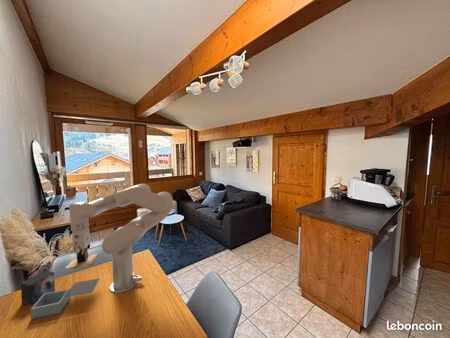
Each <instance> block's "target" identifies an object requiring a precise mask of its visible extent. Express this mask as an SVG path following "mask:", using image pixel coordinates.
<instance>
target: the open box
mask: <svg viewBox="0 0 450 338" xmlns="http://www.w3.org/2000/svg"><path fill="white" fill-rule="evenodd" d="M69 300H71V297H70V288H66V289H62V290H61V289H60V290H55V291H54V292H49V293H44V294H43V295H42V297H41V298H40V299H39V300H38V301H37V302H36V303H34V304H33V305H32V307H31V308H30V320H31V321H32V320H36V319H40V318H41V319H42V318H45V317H51V316H55V315H60V314H61V312H62V311H63V310H64V308H65V306H66V305H67V304H68V302H69Z"/></svg>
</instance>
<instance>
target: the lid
mask: <svg viewBox="0 0 450 338" xmlns="http://www.w3.org/2000/svg"><path fill="white" fill-rule="evenodd" d="M87 250H88V249H85V250H84V254H85V261H84V262H80V263H77V256H75V257H74V258H73V259H71V261H70V262H69V263H68V264H67V265H66V266H65V268H64V271H70V270H75V269H79V268H86V267H91V266H93V264H94V263H95V261H96V259H97V258H98V256H99V253H93V254H87ZM79 251H81V250H79Z"/></svg>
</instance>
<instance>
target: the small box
mask: <svg viewBox="0 0 450 338" xmlns="http://www.w3.org/2000/svg"><path fill="white" fill-rule="evenodd" d="M55 287H56V285H55V272H53V271H47V270H44V271H41V272H39V273H38V274H36V275H34V276H32V277H30V278H28V279H25V280H23V281H21V283H20V290H21V291H20V292H21V294H20V295H21V297H20V298H21V304H20V305H23V306H24V305H25V306H34V305H35V303H36V302H37V301H38V300H39V299H40V298H41V297H42V295H43V294H44V293H49V292H55V291H56V290H55V289H56V288H55Z"/></svg>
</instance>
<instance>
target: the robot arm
mask: <svg viewBox="0 0 450 338" xmlns="http://www.w3.org/2000/svg"><path fill="white" fill-rule="evenodd" d="M173 201H174V200H173V196H172V194H171V193H170V192H168V191H161V192H158V193H155V192H152V189H151V187H150V186H149V185H148V184H147V183H139V184H136V185H132V186H129V187H128V188H125V189H120V190H118V191H115V192H114V193H112V194H110V195H107V196H104V197H101V198H98V199H95V200H92V201H89V202H87V201H82V200H81V201H75V202H72V203H70V204H69V207H68V210H69V211H68V212H69V222H70V231H71V232H72V238H71V239H72V250H73V251H74V254H75V255H76V256H75V257H77V263H80V262H84V261H85V254H84V250H85V249H87V254H88V253H89V252H88V246H89V245H90V243H91V241H92V240H91V234H90V221H89V220H90V218H92V217H93V218H94V217H95V216H97V215H100V214H101V213H104V212H105V211H106V212H107V211H108V210H109V211H110V210H111V209H115V208H117V207H121V208H123V207H126V206H129V205H132V204H135V205H136V206H139V207H142V208H144V209H146V210H147V211H146V212H144V213H143V214H141V215H139V216H138V217H136V218H133V219H131V220H130V221H129V222H128V223H127V224H125V225H124V226H119V227H118V228H115V230H113V231H112V232H110V233H109V234H108V235H107V236H106V237H104V239H103V241H102V243H101V248H102V251H103V252H104V253H105V254H108V255H111V263H112V264H111V267H112V269H111V270H112V271H111V272H112V283H111V284H110V285H109V291H110V292H111V293H114V294H122V293H126V292H128V291H130V290H131V289H133V288H134V287H136V284H137V281H138V282H139V281H142V280H143V276H142V275H141V274H137V275H135V272H134V269H133V268H134V265H133V263H134V262H133V244H135V243H136V242H138V241H140V239H141V238H142V237H143V236H144V235H145V234H146V232H148V231H149V230H150V229H152V228H153V227H155V226H157V225H158V224H160V223H161V222H163V221H164V220H165V219H166V218H167V217H168V215H169V214H170V213H171V211H172V208H173V203H174V202H173ZM79 250H81V251H79ZM88 255H89V254H88Z"/></svg>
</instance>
